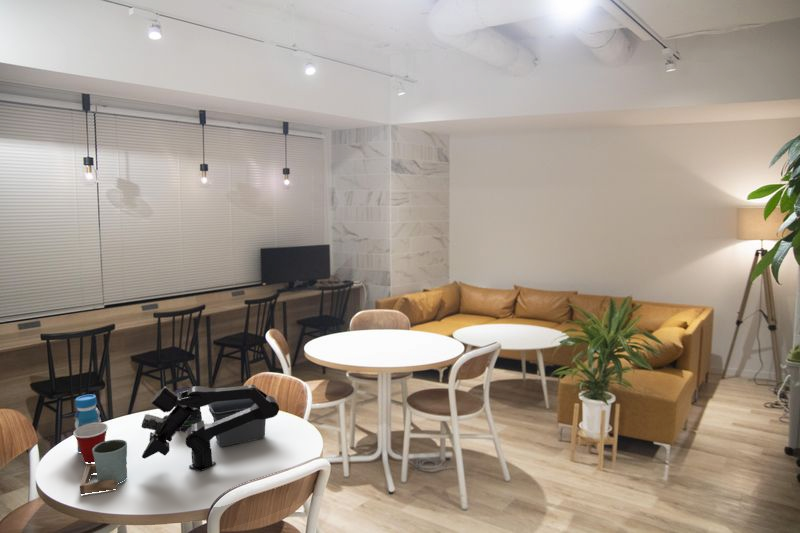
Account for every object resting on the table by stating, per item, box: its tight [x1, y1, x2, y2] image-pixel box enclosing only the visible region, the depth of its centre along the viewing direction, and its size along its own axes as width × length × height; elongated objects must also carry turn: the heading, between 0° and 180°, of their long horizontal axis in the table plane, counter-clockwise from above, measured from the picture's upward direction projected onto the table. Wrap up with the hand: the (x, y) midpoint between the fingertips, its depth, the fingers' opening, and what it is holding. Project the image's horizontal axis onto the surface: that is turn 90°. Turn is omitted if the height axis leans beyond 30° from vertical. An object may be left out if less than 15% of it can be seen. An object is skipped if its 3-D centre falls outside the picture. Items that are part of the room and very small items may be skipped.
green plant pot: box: [92, 439, 128, 484], centre depth 193 cm, size 10×10×12 cm
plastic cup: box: [72, 422, 109, 463], centre depth 208 cm, size 11×11×12 cm
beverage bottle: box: [74, 394, 102, 453], centre depth 216 cm, size 8×8×20 cm
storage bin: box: [207, 399, 267, 447], centre depth 223 cm, size 21×16×14 cm
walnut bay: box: [79, 464, 118, 494], centre depth 192 cm, size 10×15×4 cm
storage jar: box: [173, 386, 203, 433], centre depth 236 cm, size 10×10×15 cm
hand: (143, 457), depth 196 cm, fingers closed
